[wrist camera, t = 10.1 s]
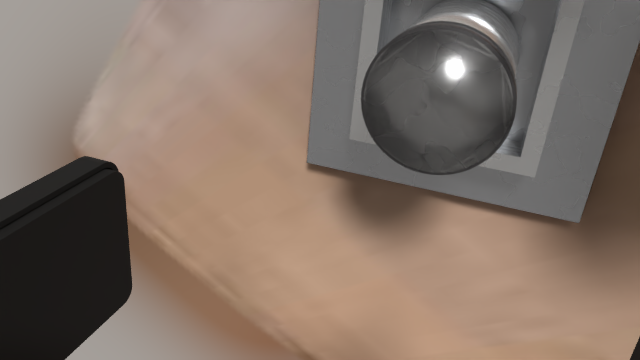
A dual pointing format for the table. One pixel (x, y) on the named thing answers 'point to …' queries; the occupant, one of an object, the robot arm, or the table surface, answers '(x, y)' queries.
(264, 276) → the table surface
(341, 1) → the collar
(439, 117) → the grey jar with lid
